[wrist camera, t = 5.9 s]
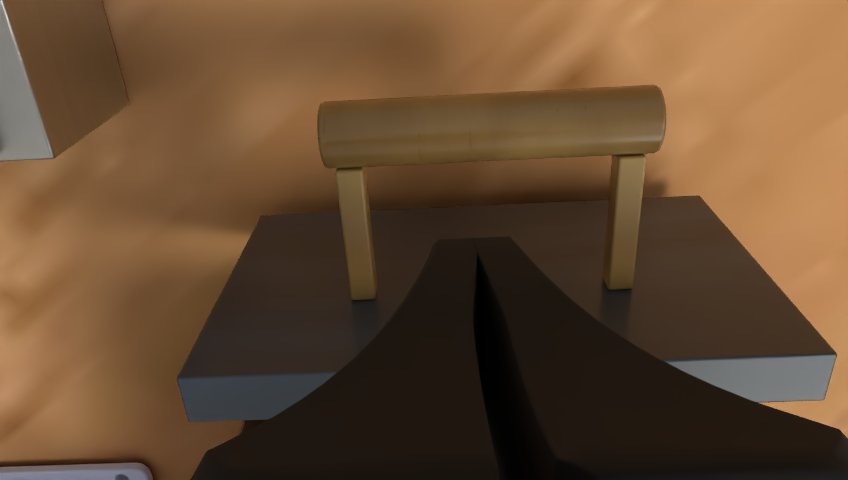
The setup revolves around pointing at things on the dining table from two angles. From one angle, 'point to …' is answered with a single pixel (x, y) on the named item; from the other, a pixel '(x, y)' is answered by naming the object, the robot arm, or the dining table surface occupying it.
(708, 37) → the dining table surface
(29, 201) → the dining table surface
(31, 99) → the striped metal cube
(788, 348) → the drawer
